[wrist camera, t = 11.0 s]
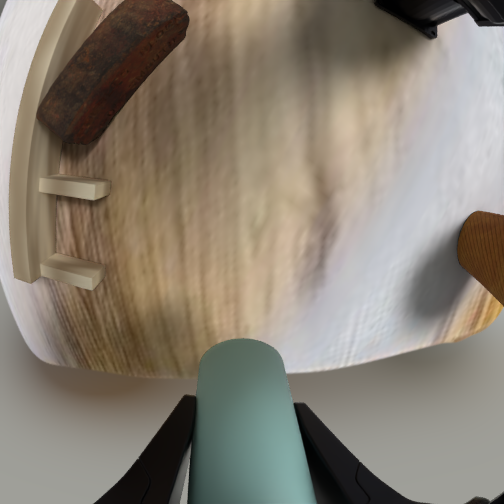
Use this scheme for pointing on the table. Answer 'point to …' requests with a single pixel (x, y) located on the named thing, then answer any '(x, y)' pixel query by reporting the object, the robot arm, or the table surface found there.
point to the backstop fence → (49, 159)
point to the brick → (111, 67)
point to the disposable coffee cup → (484, 250)
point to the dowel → (246, 430)
